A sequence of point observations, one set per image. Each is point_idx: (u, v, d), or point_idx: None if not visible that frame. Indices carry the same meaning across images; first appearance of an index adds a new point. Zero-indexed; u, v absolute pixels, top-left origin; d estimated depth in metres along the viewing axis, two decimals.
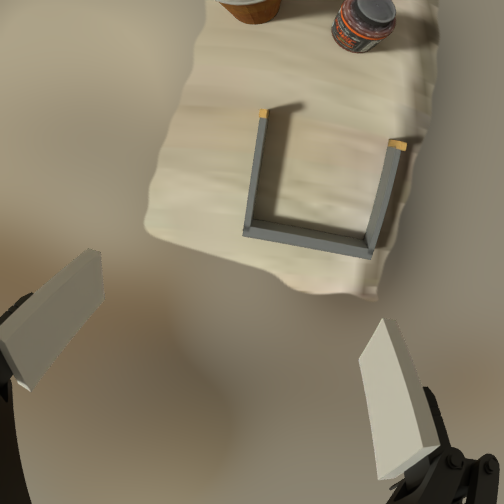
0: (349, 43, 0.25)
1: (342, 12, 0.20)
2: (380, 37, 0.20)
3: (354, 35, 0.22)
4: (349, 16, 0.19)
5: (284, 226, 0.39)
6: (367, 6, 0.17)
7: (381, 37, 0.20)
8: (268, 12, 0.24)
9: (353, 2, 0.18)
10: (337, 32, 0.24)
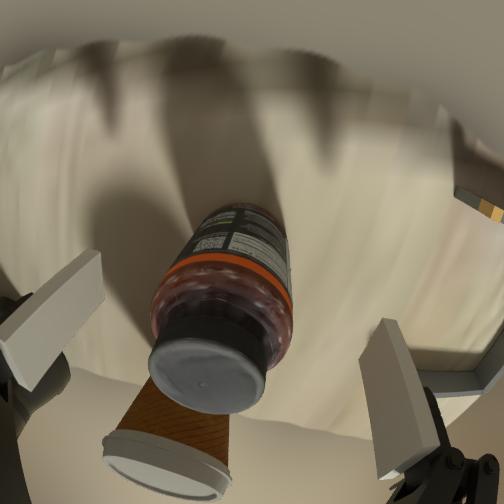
0: None
1: None
2: (289, 315, 0.11)
3: None
4: None
5: (498, 346, 0.20)
6: (216, 403, 0.09)
7: (288, 311, 0.11)
8: None
9: None
10: None
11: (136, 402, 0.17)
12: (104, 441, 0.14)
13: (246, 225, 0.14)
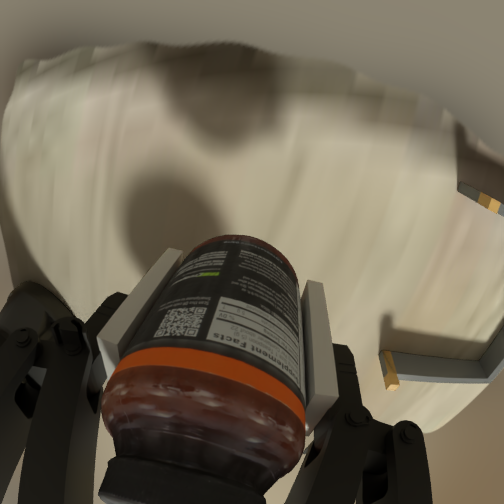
0: None
1: None
2: (302, 434, 0.06)
3: None
4: None
5: (501, 336, 0.21)
6: None
7: (301, 429, 0.06)
8: None
9: None
10: None
11: None
12: None
13: (240, 280, 0.09)
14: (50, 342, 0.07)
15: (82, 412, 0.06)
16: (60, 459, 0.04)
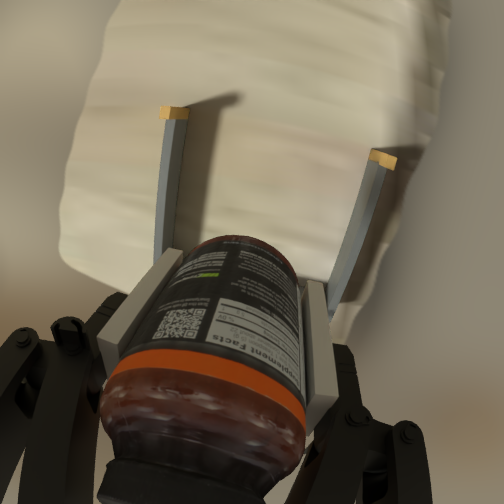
0: None
1: None
2: (302, 436, 0.06)
3: None
4: None
5: None
6: None
7: (301, 432, 0.06)
8: None
9: None
10: None
11: None
12: None
13: (240, 281, 0.09)
14: (50, 342, 0.07)
15: (82, 412, 0.06)
16: (60, 459, 0.04)
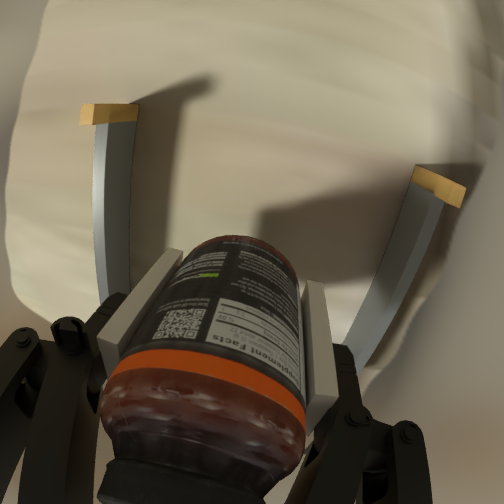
0: None
1: None
2: (302, 437, 0.06)
3: None
4: None
5: None
6: None
7: (301, 432, 0.06)
8: None
9: None
10: None
11: None
12: None
13: (239, 281, 0.09)
14: (50, 342, 0.07)
15: (82, 412, 0.06)
16: (60, 460, 0.04)
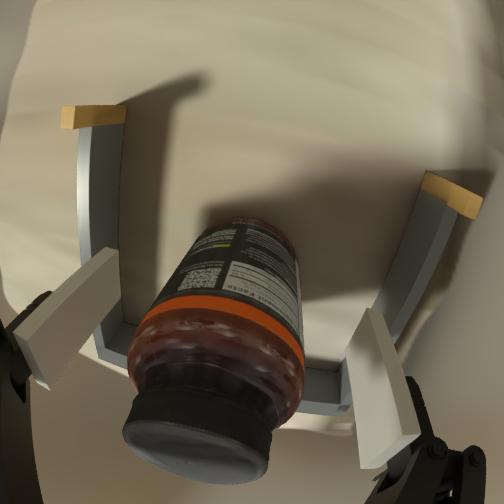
0: None
1: None
2: (301, 373, 0.08)
3: None
4: None
5: None
6: (209, 477, 0.06)
7: (300, 369, 0.08)
8: None
9: None
10: None
11: None
12: None
13: (248, 250, 0.11)
14: None
15: (9, 398, 0.05)
16: None
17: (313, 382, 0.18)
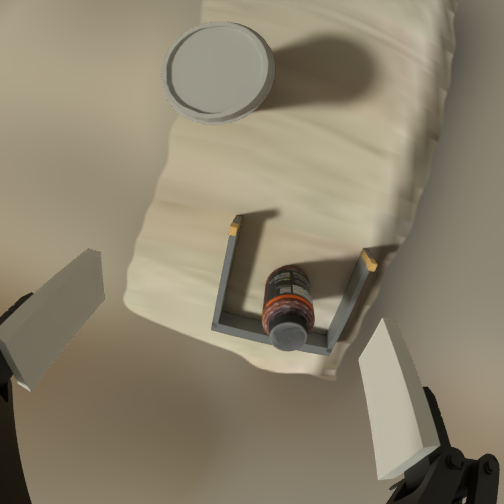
0: None
1: None
2: (313, 316, 0.30)
3: None
4: None
5: (250, 321, 0.41)
6: (290, 345, 0.29)
7: (313, 314, 0.30)
8: None
9: None
10: None
11: None
12: (247, 29, 0.18)
13: (295, 280, 0.34)
14: None
15: None
16: None
17: (314, 338, 0.40)
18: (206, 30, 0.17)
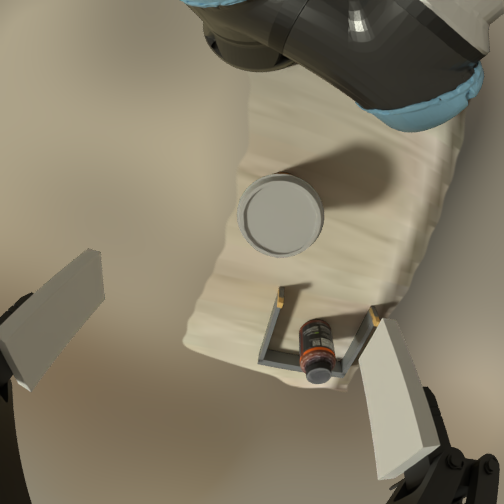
0: None
1: None
2: (335, 359, 0.42)
3: None
4: None
5: (286, 355, 0.53)
6: (320, 381, 0.41)
7: (335, 359, 0.42)
8: None
9: None
10: None
11: None
12: (305, 183, 0.29)
13: (322, 333, 0.45)
14: None
15: None
16: None
17: None
18: (274, 186, 0.29)
